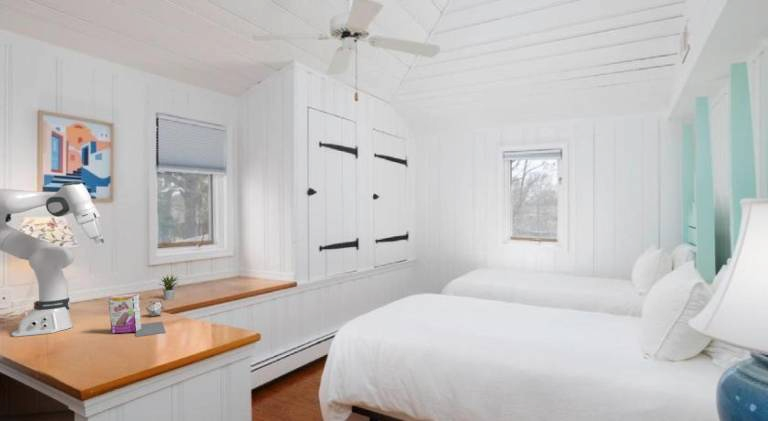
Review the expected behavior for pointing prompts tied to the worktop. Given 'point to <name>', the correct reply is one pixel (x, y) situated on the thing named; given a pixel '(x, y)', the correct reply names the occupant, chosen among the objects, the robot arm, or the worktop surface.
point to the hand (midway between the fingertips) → (101, 244)
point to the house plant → (169, 287)
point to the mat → (151, 329)
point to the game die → (155, 308)
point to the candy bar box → (125, 313)
